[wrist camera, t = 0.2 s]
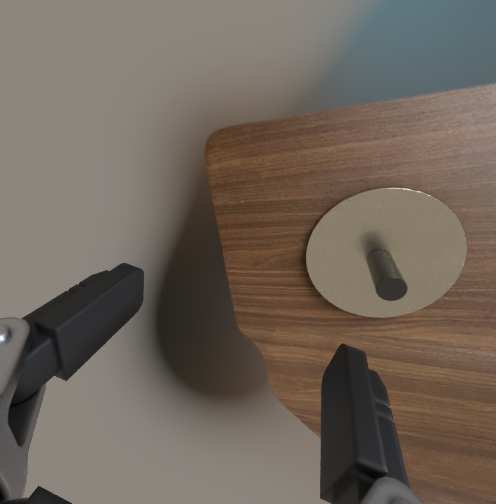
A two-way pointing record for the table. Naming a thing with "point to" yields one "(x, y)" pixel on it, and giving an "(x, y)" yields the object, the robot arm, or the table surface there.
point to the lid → (386, 252)
